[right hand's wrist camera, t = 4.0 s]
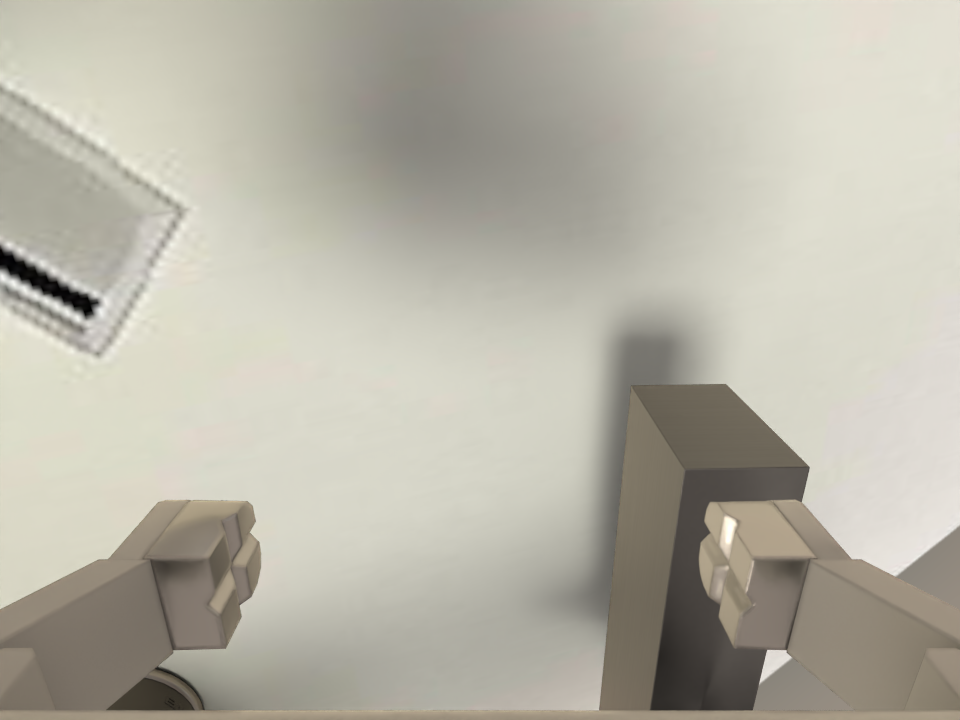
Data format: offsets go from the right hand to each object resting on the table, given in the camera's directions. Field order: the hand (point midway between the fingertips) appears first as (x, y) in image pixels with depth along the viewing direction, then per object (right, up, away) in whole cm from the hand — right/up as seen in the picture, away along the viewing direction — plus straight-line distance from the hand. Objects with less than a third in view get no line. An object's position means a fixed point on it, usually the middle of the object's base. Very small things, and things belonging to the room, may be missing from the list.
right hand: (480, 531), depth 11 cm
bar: (+10, -10, +24) cm, 28 cm away
